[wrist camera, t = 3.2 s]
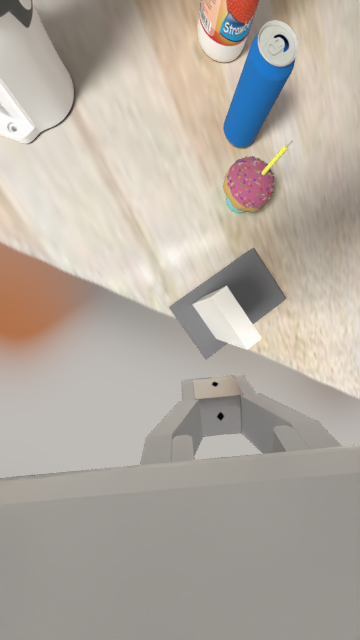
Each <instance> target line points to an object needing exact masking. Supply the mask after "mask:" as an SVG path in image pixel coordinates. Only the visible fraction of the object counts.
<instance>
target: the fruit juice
mask: <svg viewBox="0 0 360 640" xmlns="http://www.w3.org/2000/svg"><path fill="white" fill-rule="evenodd" d="M258 2H259V0H201V2H200V9H199V16H198V26H197V35H198V41H199V44H200V46H201V48H202V50H203V51H204V52H205V53H206V55H207V56H209V57H210V58H211V59H213V60H215V61H218V62H223V63H226V62H231V61H233V60H235V59H236V58H237V57H238V56H239V55H240V53H241V51H242V50H243V47H244V45H245V42H246V39H247V36H248V33H249V30H250V27H251V24H252V21H253V18H254V15H255V11H256V8H257V5H258Z"/></svg>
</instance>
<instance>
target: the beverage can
mask: <svg viewBox="0 0 360 640" xmlns="http://www.w3.org/2000/svg"><path fill="white" fill-rule="evenodd" d="M297 53H298V40H297V36H296V34H295V33H294V31H293V30H292V28H291V27H290V26H289V25H287V24H286V23H284V22H282V21H278V20H272V21H269V22H267V23H265V24H264V25H263V26H262V28H261V30H260V32H259V34H258V35H257V36H256V37H255V39H254V40H253V42H252V44H251V47H250V50H249V53H248V56H247V59H246V62H245V65H244V67H243V70H242V73H241V76H240V79H239V82H238V85H237V88H236V90H235V93H234V96H233V99H232V102H231V105H230V108H229V111H228V114H227V116H226V119H225V122H224V134H225V136H226V138H227V140H228V141H229V142H230V143H231V144H232V145H234V146H236V147H247V146H249V145H250V144H251V143H252V142H253V141H254V139H255V137H256V136H257V134H258V132H259V130H260V128H261V126H262V125H263V123H264V121H265V119H266V117H267V116H268V114H269V112H270V110H271V108H272V106H273V105H274V103H275V101H276V99H277V97H278V95H279V94H280V92H281V90H282V88H283V86H284V84H285V83H286V81H287V79H288V77H289V75H290V74H291V72H292V69H293V67H294V63H295V57H296V55H297Z"/></svg>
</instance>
